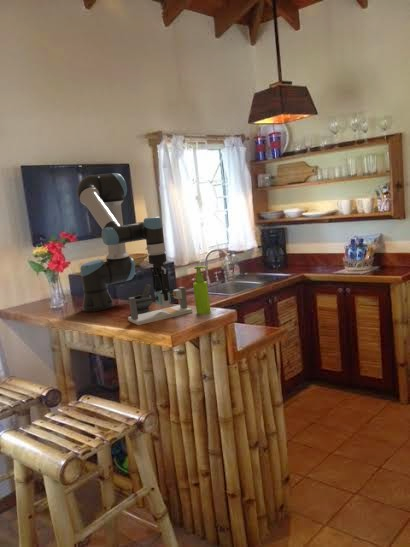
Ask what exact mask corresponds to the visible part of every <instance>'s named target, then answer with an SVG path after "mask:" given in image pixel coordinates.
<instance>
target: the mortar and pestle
mask: <svg viewBox="0 0 410 547" xmlns="http://www.w3.org/2000/svg"><path fill="white" fill-rule="evenodd" d="M151 288H152V285H151V284H148V283H147V284H145V285H144V290H143V292H142V294H141V295H136V296H133V297H134V298H135V299H136V301H141V300H145V299H150V298H153V297H152V295H150V292H151ZM152 302H153V301H150V302H145V303H140V304H136V306H137V313H138V315H139V314H143V313H147V312H150V306H151V304H152Z"/></svg>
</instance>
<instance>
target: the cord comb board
mask: <svg viewBox="0 0 410 547" xmlns="http://www.w3.org/2000/svg"><path fill="white" fill-rule="evenodd" d="M134 297H135V296H132V297H131V296H130V297H128V298H127V299H128V305H129V310H130V311H129V312H130V316H128V317H127V321H129V322H130V323H133V324H135V325H137V326H141V325H145V324H150V323H153V322H158V321H161V320H165V319H170V318H175V317H178V316H182V315H186V314H191V313H193V309H192V308H191V307H188V303H187V295H186V287H185V286H179V287H177V288H176V289H172V293H170V298H172V297H173V299H175V300H179V305H174V306H170V307H169V308H165V309H164V308H161V309H156V310H153V311H149V312H146V313H141V314H138V313H137V306H136V304H140V303H145V302H150V301H152V302H153V301H156V300H159V299H158V297H155V296H154V297H152V298H150V299H145V300H141V301H136V299H135V298H134Z"/></svg>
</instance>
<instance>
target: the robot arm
mask: <svg viewBox="0 0 410 547" xmlns="http://www.w3.org/2000/svg"><path fill="white" fill-rule="evenodd" d="M127 192H128V187H127V183H126V180H125V179H124V177H123V176H122V174H120V173H117V172H116V173H115V172H114V173H113V172H112V173H111V172H110V173H99V174H89V175H87V176H85V177H83V178H82V179H81V180H80V181H79V183H78V186H77V189H76V195H77V198H78V200H79V202H80V203H81V204H82V205H84V206H86V208H87V210H88V211H89V212H90V214H91V216H92V217H93V218H94V220H95V221H96V223H97V224H98V226H99V227H100V228H101V239H102V243H103V244H105V245H106V246H107V250H108V254H107V255H106V256H105V257H106V259H105V260H106V261H105V260H104V259H96V260H91V261H88V262H86V263H83V264H82V265H81V266H80V268H79V269H80V277H81V283H82V289H83V301H82V311H83V312H87V313H88V312H89V313H91V312H99V311H100V310H101V311H105V310H108V309H109V310H110V309H111V308H113V307H115V305H114V304H115V303H114V300H113V298H112V296H111V294H110V293H109V288H108V286H109V285H113V284H114V285H115V284H118V283H125V282H127V281H128V282H129V281H130V280H132V279H133V278H134V276H135V274H136V264H135V260H134V258H133V257H130V254H129V253H128V252H127V250H126V243H131V242H138V241H143V240H144V241H145V242H146V250H147V254H148V255H147V257H148V263H149V264H150V265H152V267H150V272H151V277H152V285H153V290H155V291H154V292H157V291H161V290H162V292H161V294H162V302H163V304H162V305H159V304H157V306H158V307H162V309H165V308H169V307H171V304H170V303H169V297H168V292H171V287H170V282H169V274H168V272H169V271H168V268H166V267H165V264H164V263H166V262H167V261H168V260H167V254H166V244H165V238H164V229H163V224H162V218H161V217H160V216H151V217H146V218H144V219H143V221H140V222H136V223H131V224H124V221H123V220H124V219H123V213H122V211H123V210H122V203H123V202H124V197H126V195H127Z"/></svg>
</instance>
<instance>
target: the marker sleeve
mask: <svg viewBox="0 0 410 547" xmlns="http://www.w3.org/2000/svg"><path fill="white" fill-rule="evenodd" d="M161 292H162V290H161V291H154V292H153V293H154V298H155V297H158V299H159V300H155V304H157V305H158V304H159V305H162V304H163V302H162V294H161ZM170 292H171V291H170ZM170 292H168V297H169V304H170V303H172V300H171V299H172V297H170V294H171V293H170Z"/></svg>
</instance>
